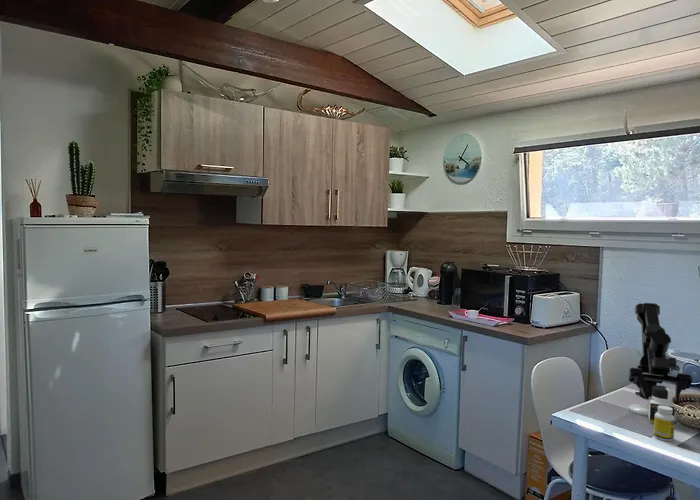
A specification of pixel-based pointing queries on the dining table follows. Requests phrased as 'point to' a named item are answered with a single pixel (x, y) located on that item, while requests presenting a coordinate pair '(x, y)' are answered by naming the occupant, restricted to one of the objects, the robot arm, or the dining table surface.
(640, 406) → the white round dome
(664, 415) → the supplement bottle
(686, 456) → the dining table surface
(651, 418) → the medicine bottle
